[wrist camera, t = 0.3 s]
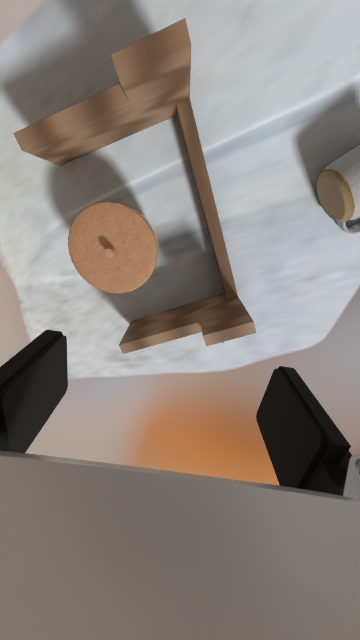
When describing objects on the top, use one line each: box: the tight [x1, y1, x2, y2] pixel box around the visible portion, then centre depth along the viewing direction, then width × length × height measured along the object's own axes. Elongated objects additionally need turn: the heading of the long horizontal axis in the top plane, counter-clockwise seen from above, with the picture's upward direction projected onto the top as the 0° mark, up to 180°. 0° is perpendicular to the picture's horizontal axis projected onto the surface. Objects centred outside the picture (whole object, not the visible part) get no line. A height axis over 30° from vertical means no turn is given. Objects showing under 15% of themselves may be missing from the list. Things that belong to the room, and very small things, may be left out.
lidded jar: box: [68, 201, 158, 293], centre depth 31 cm, size 11×11×9 cm
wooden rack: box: [13, 18, 256, 354], centre depth 29 cm, size 18×27×12 cm, turn 18°
